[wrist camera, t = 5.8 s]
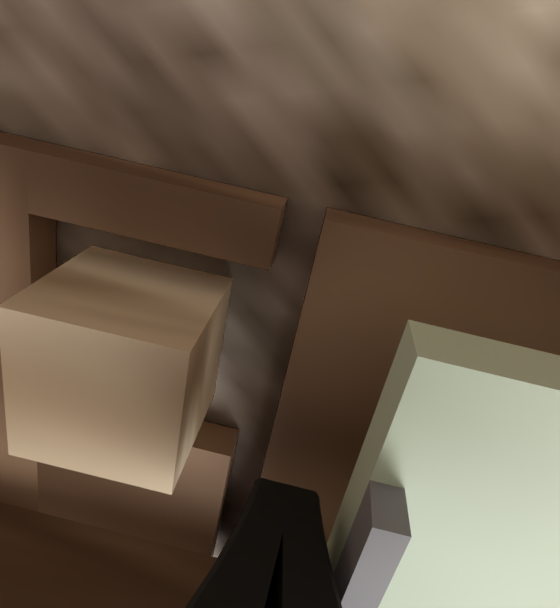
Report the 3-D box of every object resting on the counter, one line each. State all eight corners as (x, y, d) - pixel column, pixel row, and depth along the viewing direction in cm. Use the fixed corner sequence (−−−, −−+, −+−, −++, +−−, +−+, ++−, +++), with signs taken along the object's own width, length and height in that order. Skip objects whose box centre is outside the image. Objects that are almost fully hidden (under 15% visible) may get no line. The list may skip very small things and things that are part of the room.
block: (214, 394, 15) (171, 495, 11) (90, 364, 15) (8, 454, 11) (233, 277, 13) (190, 352, 9) (92, 244, 13) (-4, 306, 10)
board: (500, 636, 18) (544, 793, 14) (-42, 496, 18) (-148, 609, 14) (733, 301, 11) (930, 412, 8) (-97, 109, 12) (-305, 121, 8)
